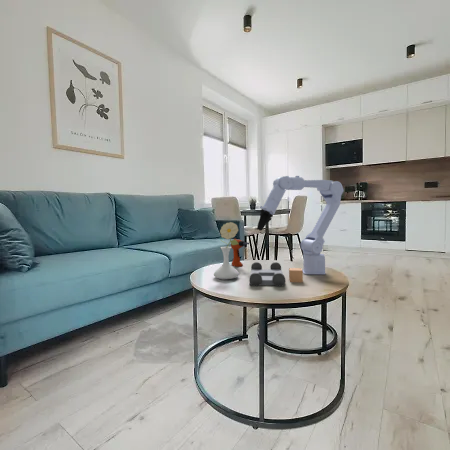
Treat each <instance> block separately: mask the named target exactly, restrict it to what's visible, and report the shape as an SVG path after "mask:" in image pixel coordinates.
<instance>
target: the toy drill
mask: <svg viewBox="0 0 450 450" xmlns="http://www.w3.org/2000/svg"><path fill="white" fill-rule="evenodd" d="M233 240H236V241H237V242H238V243H239V244H237V245H232V244H231V243H230V247H231V249H232V250H233V259H232V261H231V266H232V267H234V268H235V267H237V268H239V267H243V266H244V265H243V263H242V262H241V258H240V255H241V254H240V248H242V247H245V246H246V245H249V244H250V242H245V241H243V240H241V239H237V238H233Z"/></svg>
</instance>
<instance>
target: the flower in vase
mask: <svg viewBox="0 0 450 450" xmlns="http://www.w3.org/2000/svg"><path fill="white" fill-rule="evenodd" d="M220 227H221V228H220V230H219V234H220V236H221V238H223V239H226V240H229V242H228V243H227V242H226V241H223V240H222V239H220V241H221V242H223V243H225V244H227V245H226V246H220V249H221V251H222V256H223V263H222V264H221V265H220V267H219V268H217V269H216V270H215V271H214V273H213V277H214V278H217V279H220V280H233V279H235V278H238V277H239V276H240V272H239V271H238V270H237V269H236V268H235V267H234V266H232V264H230V262H229V260H230V259H229V257H230V256H229V255H230V251H231V249H232V248H231V246H229V245H231V244H232V245H237V244H239V243H238V242H237V241H236V240H234V238H235V236H237V235H236V234H238V232H239V227H238V224H236V223H234V222H231V221H230V222H226V223H223V225H222V226H220Z"/></svg>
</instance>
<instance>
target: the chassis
mask: <svg viewBox="0 0 450 450" xmlns="http://www.w3.org/2000/svg"><path fill="white" fill-rule="evenodd" d="M250 269H251V270H250V274H249V280H248V281H249V285H250V286H253V287H258V286H275V287H282V286H283V287H284V286H286V277H285V275H284V274H283V270H282V265H281V264H280V262H278V261H277V262H276V261H275V262H272V263H271V264H270V267H269V268H263V267H262V263H260V262H258V261H255V262H253V263H252V264H251V268H250Z"/></svg>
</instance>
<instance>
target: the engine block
mask: <svg viewBox="0 0 450 450" xmlns="http://www.w3.org/2000/svg"><path fill="white" fill-rule="evenodd" d="M288 275H289V276H288V281H289V283H303V282H304V281H303V279H304V273H303V269H302V267H290V268H289V269H288Z"/></svg>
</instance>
